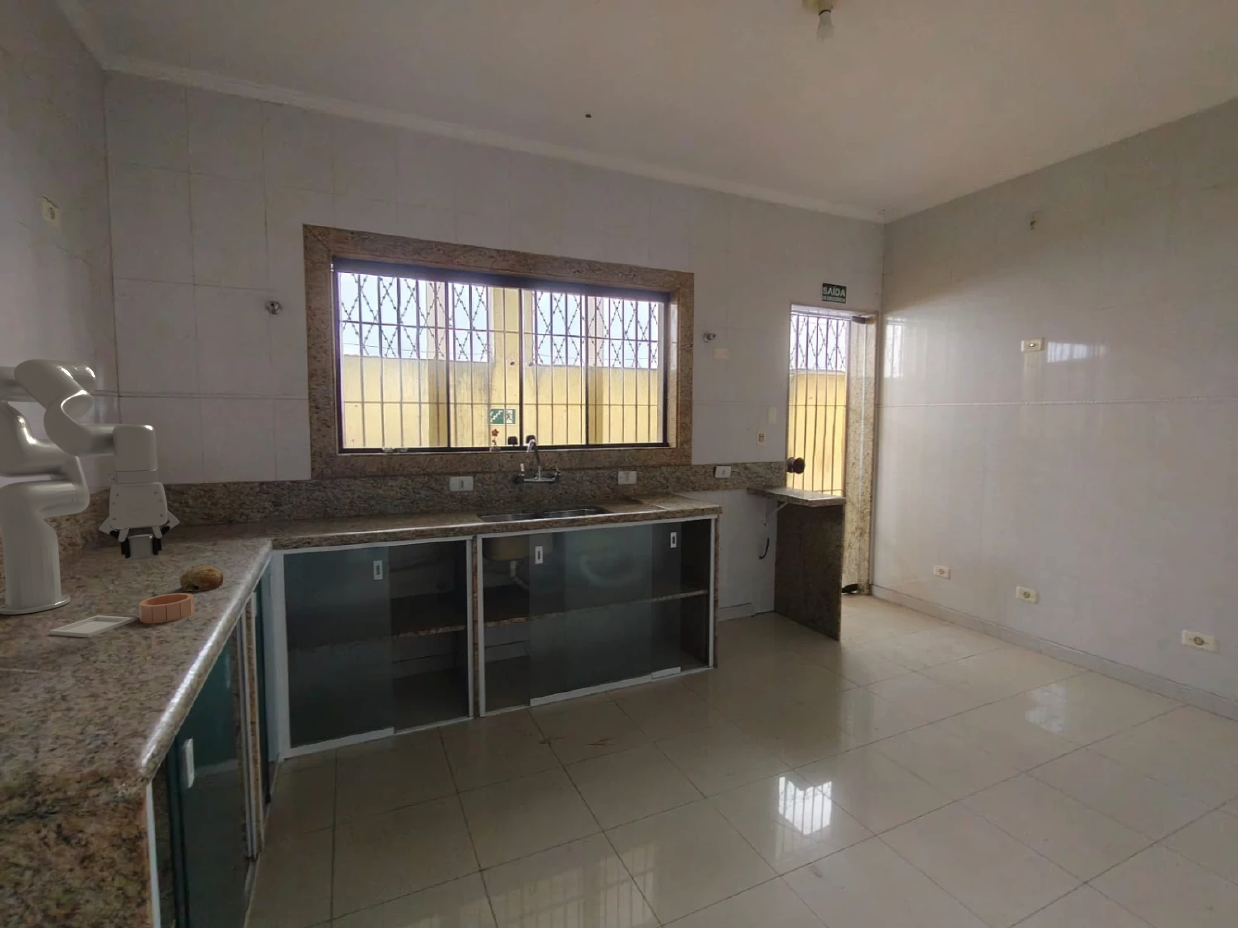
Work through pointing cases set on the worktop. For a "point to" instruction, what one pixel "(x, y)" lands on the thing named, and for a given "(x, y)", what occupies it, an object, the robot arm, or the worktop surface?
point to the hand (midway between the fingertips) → (142, 555)
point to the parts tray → (92, 626)
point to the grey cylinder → (141, 547)
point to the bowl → (166, 607)
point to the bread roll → (201, 578)
